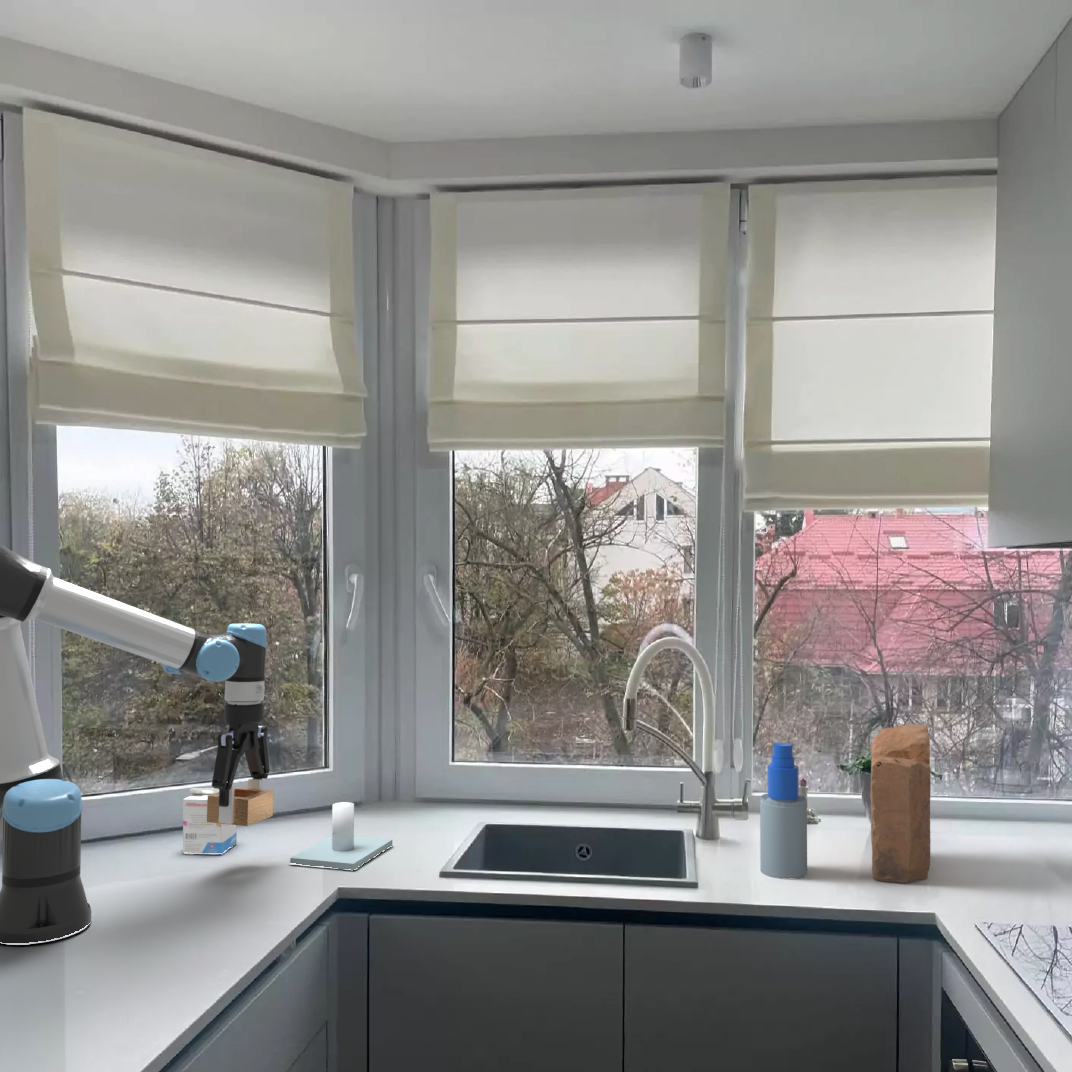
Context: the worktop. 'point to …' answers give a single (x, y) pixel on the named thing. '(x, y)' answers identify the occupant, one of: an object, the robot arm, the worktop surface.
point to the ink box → (204, 826)
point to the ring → (244, 806)
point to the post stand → (342, 844)
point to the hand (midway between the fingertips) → (240, 817)
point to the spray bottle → (783, 819)
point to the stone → (900, 803)
